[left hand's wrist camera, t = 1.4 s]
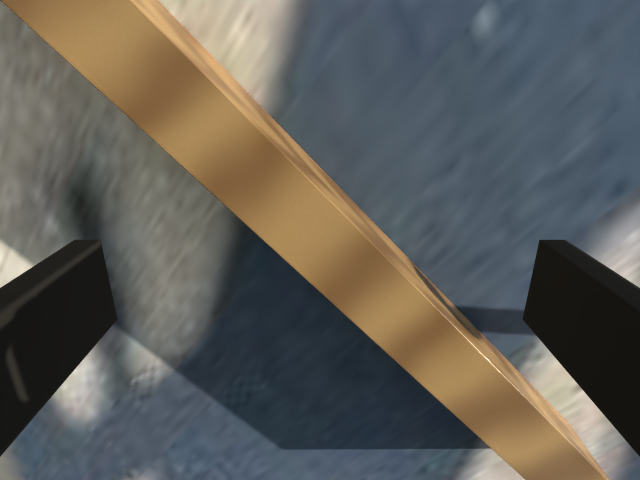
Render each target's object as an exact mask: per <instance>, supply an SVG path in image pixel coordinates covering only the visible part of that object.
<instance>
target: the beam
mask: <svg viewBox="0 0 640 480" xmlns="http://www.w3.org/2000/svg"><path fill="white" fill-rule="evenodd" d="M1 1H2V2H3V3H4V4H5V5H6V6H7V7H9V8H10V9H11V10H12V11H13V12H14V13H15V14H16V15H17V16H18V17H19V18H21V19H22V20H23V21H24V22H25V23H26V24H27V25H28V26H29V27H30V28H32V29H33V30H34V31H35V32H36V33H37V34H38V35H39V36H40V37H41V38H42V39H44V40H45V41H46V42H47V43H48V44H49V45H50V46H51V47H52V48H53V49H55V50H56V51H57V52H58V53H59V54H60V55H61V56H62V57H63V58H64V59H65V60H67V61H68V62H69V63H70V64H71V65H72V66H73V67H74V68H75V69H76V70H78V71H79V72H80V73H81V74H82V75H83V76H84V77H85V78H86V79H87V80H88V81H90V82H91V83H92V84H93V85H94V86H95V87H96V88H97V89H98V90H99V91H100V92H102V93H103V94H104V95H105V96H106V97H107V98H108V99H109V100H110V101H111V102H113V103H114V104H115V105H116V106H117V107H118V108H119V109H120V110H121V111H122V112H123V113H125V114H126V115H127V116H128V117H129V118H130V119H131V120H132V121H133V122H134V123H136V124H137V125H138V126H139V127H140V128H141V129H142V130H143V131H144V132H145V133H146V134H148V135H149V136H150V137H151V138H152V139H153V140H154V141H155V142H156V143H157V144H159V145H160V146H161V147H162V148H163V149H164V150H165V151H166V152H167V153H168V154H169V155H171V156H172V157H173V158H174V159H175V160H176V161H177V162H178V163H179V164H180V165H182V166H183V167H184V168H185V169H186V170H187V171H188V172H189V173H190V174H191V175H192V176H194V177H195V178H196V179H197V180H198V181H199V182H200V183H201V184H202V185H203V186H205V187H206V188H207V189H208V190H209V191H210V192H211V193H212V194H213V195H214V196H215V197H217V198H218V199H219V200H220V201H221V202H222V203H223V204H224V205H225V206H226V207H228V208H229V209H230V210H231V211H232V212H233V213H234V214H235V215H236V216H237V217H238V218H240V219H241V220H242V221H243V222H244V223H245V224H246V225H247V226H248V227H249V228H251V229H252V230H253V231H254V232H255V233H256V234H257V235H258V236H259V237H260V238H261V239H263V240H264V241H265V242H266V243H267V244H268V245H269V246H270V247H271V248H272V249H273V250H275V251H276V252H277V253H278V254H279V255H280V256H281V257H282V258H283V259H284V260H286V261H287V262H288V263H289V264H290V265H291V266H292V267H293V268H294V269H295V270H296V271H298V272H299V273H300V274H301V275H302V276H303V277H304V278H305V279H306V280H307V281H309V282H310V283H311V284H312V285H313V286H314V287H315V288H316V289H317V290H318V291H319V292H321V293H322V294H323V295H324V296H325V297H326V298H327V299H328V300H329V301H330V302H332V303H333V304H334V305H335V306H336V307H337V308H338V309H339V310H340V311H341V312H342V313H344V314H345V315H346V316H347V317H348V318H349V319H350V320H351V321H352V322H353V323H355V324H356V325H357V326H358V327H359V328H360V329H361V330H362V331H363V332H364V333H365V334H367V335H368V336H369V337H370V338H371V339H372V340H373V341H374V342H375V343H376V344H378V345H379V346H380V347H381V348H382V349H383V350H384V351H385V352H386V353H387V354H388V355H390V356H391V357H392V358H393V359H394V360H395V361H396V362H397V363H398V364H399V365H401V366H402V367H403V368H404V369H405V370H406V371H407V372H408V373H409V374H410V375H411V376H413V377H414V378H415V379H416V380H417V381H418V382H419V383H420V384H421V385H422V386H424V387H425V388H426V389H427V390H428V391H429V392H430V393H431V394H432V395H433V396H434V397H436V398H437V399H438V400H439V401H440V402H441V403H442V404H443V405H444V406H445V407H447V408H448V409H449V410H450V411H451V412H452V413H453V414H454V415H455V416H456V417H457V418H459V419H460V420H461V421H462V422H463V423H464V424H465V425H466V426H467V427H468V428H469V429H471V430H472V431H473V432H474V433H475V434H476V435H477V436H478V437H479V438H480V439H482V440H483V441H484V442H485V443H486V444H487V445H488V446H489V447H490V448H491V449H492V450H494V451H495V452H496V453H497V454H498V455H499V456H500V457H501V458H502V459H503V460H505V461H506V462H507V463H508V464H509V465H510V466H511V467H512V468H513V469H514V470H515V471H517V472H518V473H519V474H520V475H521V476H522V477H523V478H524V479H525V480H609V479H608V477H607V476H606V474H605V473H604V472H603V470H602V469H601V467H600V466H599V465H598V463H597V462H596V460H595V459H594V458H593V456H592V455H591V453H590V452H589V451H588V449H587V448H586V446H585V445H584V444H583V442H582V441H581V440H580V438H579V437H578V435H577V434H576V433H575V431H574V430H573V428H572V427H571V426H570V424H569V423H568V422H567V421H566V420H565V419H564V418H563V417H562V416H561V415H560V414H559V413H558V412H557V411H556V410H555V409H554V408H553V407H552V406H551V405H550V404H549V403H548V402H547V401H546V399H545V398H544V397H543V396H542V395H541V394H540V393H539V392H538V391H537V390H536V389H535V388H534V387H533V386H532V385H531V384H530V383H529V382H528V381H527V380H526V379H525V378H524V377H523V376H522V375H521V374H520V373H519V372H518V371H517V370H516V369H515V368H514V367H513V366H512V364H511V363H510V362H509V361H508V360H507V359H506V358H505V357H504V356H503V355H502V354H501V353H500V352H499V351H498V350H497V349H496V348H495V347H494V346H493V345H492V344H491V343H490V342H489V341H488V340H487V339H486V338H485V337H484V336H483V335H482V334H481V333H480V332H479V331H478V330H477V328H476V327H475V326H474V325H473V324H472V323H471V322H470V321H469V320H468V319H467V318H466V317H465V316H464V315H463V314H462V313H461V312H460V311H459V310H458V309H457V308H456V307H455V306H454V305H453V304H452V303H451V302H450V301H449V300H448V299H447V298H446V297H445V296H444V295H443V293H442V292H441V291H440V290H439V289H438V288H437V287H436V286H435V285H434V284H433V283H432V282H431V281H430V280H429V279H428V278H427V277H426V276H425V275H424V274H423V273H422V272H421V271H420V270H419V269H418V268H417V267H416V266H415V265H414V264H413V263H412V262H411V261H410V260H409V259H408V257H407V256H406V255H405V254H404V253H403V252H402V251H401V250H400V249H399V248H398V247H397V246H396V245H395V244H394V243H393V242H392V241H391V240H390V239H389V238H388V237H387V236H386V235H385V234H384V233H383V232H382V231H381V230H380V229H379V228H378V227H377V226H376V225H375V224H374V222H373V221H372V220H371V219H370V218H369V217H368V216H367V215H366V214H365V213H364V212H363V211H362V210H361V209H360V208H359V207H358V206H357V205H356V204H355V203H354V202H353V201H352V200H351V199H350V198H349V197H348V196H347V195H346V194H345V193H344V192H343V191H342V190H341V189H340V188H339V186H338V185H337V184H336V183H335V182H334V181H333V180H332V179H331V178H330V177H329V176H328V175H327V174H326V173H325V172H324V171H323V170H322V169H321V168H320V167H319V166H318V165H317V164H316V163H315V162H314V161H313V160H312V159H311V158H310V157H309V156H308V155H307V154H306V153H305V151H304V150H303V149H302V148H301V147H300V146H299V145H298V144H297V143H296V142H295V141H294V140H293V139H292V138H291V137H290V136H289V135H288V134H287V133H286V132H285V131H284V130H283V129H282V128H281V127H280V126H279V125H278V124H277V123H276V122H275V121H274V120H273V119H272V118H271V117H270V115H269V114H268V113H267V112H266V111H265V110H264V109H263V108H262V107H261V106H260V105H259V104H258V103H257V102H256V101H255V100H254V99H253V98H252V97H251V96H250V95H249V94H248V93H247V92H246V91H245V90H244V89H243V88H242V87H241V86H240V85H239V84H238V83H237V82H236V80H235V79H234V78H233V77H232V76H231V75H230V74H229V73H228V72H227V71H226V70H225V69H224V68H223V67H222V66H221V65H220V64H219V63H218V62H217V61H216V60H215V59H214V58H213V57H212V56H211V55H210V54H209V53H208V52H207V51H206V50H205V49H204V48H203V47H202V46H201V44H200V43H199V42H198V41H197V40H196V39H195V38H194V37H193V36H192V35H191V34H190V33H189V32H188V31H187V30H186V29H185V28H184V27H183V26H182V25H181V24H180V23H179V22H178V21H177V20H176V19H175V18H174V17H173V16H172V15H171V14H170V13H169V12H168V11H167V9H166V8H165V7H164V6H163V5H162V4H161V3H160V2H159V1H158V0H1Z"/></svg>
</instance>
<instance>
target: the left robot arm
mask: <svg viewBox="0 0 640 480" xmlns="http://www.w3.org/2000/svg"><path fill="white" fill-rule="evenodd" d="M116 320H117V315H116V311H115V306H114V301H113V297H112V292H111V287H110V283H109V278H108V273H107V269H106V264H105V259H104V255H103V250H102V245H101V240H74V241H72V242H71V243H69V244H68V245H66V246H65V247H63V248H62V249H60V250H58V251H57V252H55V253H54V254H52V255H51V256H49V257H48V258H46V259H45V260H43V261H41V262H40V263H38V264H37V265H35V266H34V267H32V268H31V269H29V270H28V271H26V272H24V273H23V274H21V275H20V276H18V277H17V278H15V279H14V280H12V281H11V282H9V283H7V284H6V285H4V286H3V287H1V288H0V456H1V455H2V454H3V453H4V452H5V450H6V449H7V448H8V447H9V446H10V445H11V443H12V442H13V441H14V440H15V439H16V438H17V436H18V435H19V434H20V433H21V432H22V430H23V429H24V428H25V427H26V426H27V425H28V423H29V422H30V421H31V420H32V419H33V418H34V416H35V415H36V414H37V413H38V412H39V411H40V409H41V408H42V407H43V406H44V405H45V403H46V402H47V401H48V400H49V399H50V398H51V396H52V395H53V394H54V393H55V392H56V391H57V389H58V388H59V387H60V386H61V385H62V384H63V382H64V381H65V380H66V379H67V378H68V376H69V375H70V374H71V373H72V372H73V371H74V369H75V368H76V367H77V366H78V365H79V364H80V362H81V361H82V360H83V359H84V358H85V357H86V355H87V354H88V353H89V352H90V351H91V349H92V348H93V347H94V346H95V345H96V344H97V342H98V341H99V340H100V339H101V338H102V337H103V335H104V334H105V333H106V332H107V331H108V330H109V328H110V327H111V326H112V325H113V324H114V323H115V321H116ZM523 320H524V321H525V323H526V324H527V325H528V326H529V327H530V328H531V330H532V331H533V332H534V333H535V334H536V335H537V337H538V338H539V339H540V340H541V341H542V342H543V344H544V345H545V346H546V347H547V348H548V350H549V351H550V352H551V353H552V354H553V355H554V357H555V358H556V359H557V360H558V361H559V362H560V364H561V365H562V366H563V367H564V368H565V369H566V371H567V372H568V373H569V374H570V375H571V376H572V378H573V379H574V380H575V381H576V382H577V384H578V385H579V386H580V387H581V388H582V389H583V391H584V392H585V393H586V394H587V395H588V396H589V398H590V399H591V400H592V401H593V402H594V403H595V405H596V406H597V407H598V408H599V409H600V411H601V412H602V413H603V414H604V415H605V416H606V418H607V419H608V420H609V421H610V422H611V423H612V425H613V426H614V427H615V428H616V429H617V430H618V432H619V433H620V434H621V435H622V436H623V438H624V439H625V440H626V441H627V442H628V443H629V445H630V446H631V447H632V448H633V449H634V450H635V452H636V453H637V454H638V455H639V456H640V288H639V287H637V286H636V285H634V284H633V283H631V282H629V281H628V280H626V279H625V278H623V277H622V276H620V275H619V274H617V273H616V272H614V271H612V270H611V269H609V268H608V267H606V266H605V265H603V264H602V263H600V262H599V261H597V260H595V259H594V258H592V257H591V256H589V255H588V254H586V253H585V252H583V251H582V250H580V249H578V248H577V247H575V246H574V245H572V244H571V243H569V242H568V241H566V240H539V245H538V250H537V255H536V259H535V264H534V269H533V273H532V278H531V283H530V287H529V292H528V297H527V301H526V306H525V311H524V315H523Z"/></svg>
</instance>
